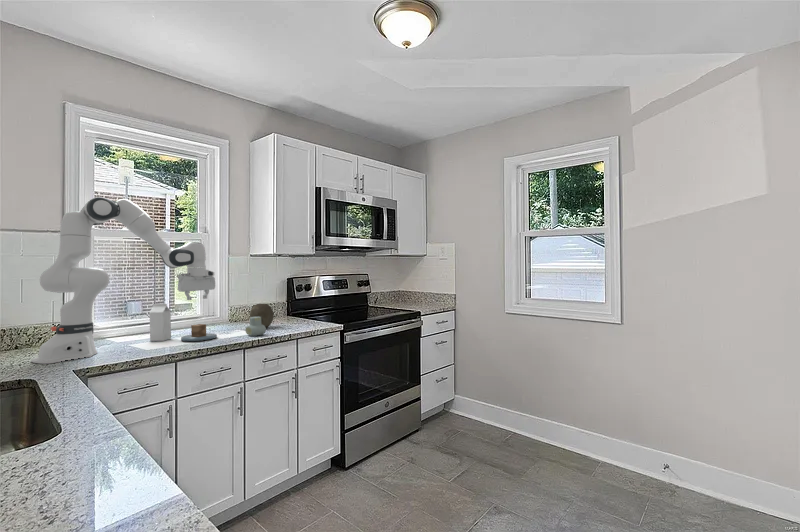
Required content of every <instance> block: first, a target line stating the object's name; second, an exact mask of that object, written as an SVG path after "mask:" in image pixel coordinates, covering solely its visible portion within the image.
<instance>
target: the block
mask: <svg viewBox="0 0 800 532" xmlns="http://www.w3.org/2000/svg"><path fill="white" fill-rule="evenodd" d="M190 327H191V329H190V330H191V333H190V335H192V337H203V336H206V333H207V324H206V323H205V324H204V323H198V324H192V325H190Z"/></svg>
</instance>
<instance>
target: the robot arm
mask: <svg viewBox="0 0 800 532" xmlns="http://www.w3.org/2000/svg"><path fill="white" fill-rule="evenodd" d="M110 220H114V221H115V220H116V221H118V222H119V223H121V224H122V225H123V226H124V227H125V228H126V229H127V230H129V231H130V232H131V233H133V235H136V236H137V237H138V238H140V239H141V240H143V241H144V242H146V243H147V244H148V245H149V246H150V247H152V249H153V250H155V251H156V252H157V254H159V256H160V257H161V259H162V261H163V263H164V265H165V266H167V267H168V268H171V269H178V268H181V267H185V266H186V267H187V268H186V269H187V273H180V274H179V275H178V281H177V290H178V292H180V293H181V292H182V293H183V292H184V295H185V296H186V301H191V300H192V299H193V298H192V297H193V296H190V292H196V291H203V292H204V294H203V295H202V299H203V300H204V299H208V295H209V293H210V291H212V290H215V288H216V278H215V277H214V276H215V272H214V271H212V270H209V269H207V265H206V260H207V257H206V255H207V254H206V248H205V245H204V244H203V243H201V242H197V241H189V242H187V243H185V244H184V245H182V246H179V247H176V248H174V247H172V246H170V245H169V244H168V243H167V242H166V241H165V240H164V239H163V238H162V237H161V236H160V235H159V234H158V232H157V229H156V224H155V223H156V222H154V220H153V219H152V218H151V216H150V215H149V214H148V213H147V212H145V211H144V209H142V208H141V207H140V206H139V205H137V204H136V203H134V202H133V201H131V200H129V199H128V198H127V199H126V198H122V199H121V198H120V199H118V200H117V201H116V200H112V199H109V198H107V197H101V196H97V197H94V198H92V199H89V200H88V201H87V202H85V204H84V206H83V207H82V208H81V210H80V211H74V210H73V211H68V212H66V213H65V214H63V216H62V220H61V222H60V223H61V224H60V231H59V249H58V255H57V257H56V259H55V261H54V262H53V264H52V265H51V266H50V267H48V268H47V269H45V270H44V271H43V272H42V273H41V275H40V276H39V284H40V286H41V288H42V289H43V290H44V291H45V292H50V293H59V294H61V293H62V294H63V293H65V294H66V293H67V294H69V293H74V295H73V298H72V299H70V300H68V301H66V302H65V303H64V304H63V305H61V307H60V311H59V312H60V313H59V314H60V324H59V326H52V327H51V332H55V334H54V335H53V336H52V337H50V338H49V339H47V341H46V342H44V343H42V344H41V345H40V346H39V350H38V355H37V357H33V358H31V362H32V363H33V364H41V365H42V364H43V365H44V364H46V365H47V364H53V363H60V362H61V361H62V362H66V361H65V360H68V361H72V360H71V359H74V360H79V359H78V358H80V359H85V358H84V357H86V358H90V357H93V356H94V355H96V354H98V351H97V348H96V345H95V339H94V322H93V305H94V302H95V300H96V298H97V296H98V295H99V294H100V293H101V292H103V291H104V290H105V289H106V288H107V287H108V285H109V283H110V275H109V274H108V272H107V271H106V270H105V269H104V268H100V267H99V268H98V267H92V266H91V267H90V266H89V267H78V265H79V263H80V262H81V261H82V260H84V259H87V258H88V257H89V256H90V255H91V253H92V228H93V226H96V225H97V226H98V225H101V224H104V223H107V222H108V221H110Z"/></svg>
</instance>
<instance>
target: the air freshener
mask: <svg viewBox="0 0 800 532" xmlns="http://www.w3.org/2000/svg"><path fill="white" fill-rule="evenodd" d="M266 331H267V328H266V327H265V326H264V325H262V324H261V317H250V316H249V325H247V326H246V327H245V334H247V335H248V336H250V337H258V336H257V335H260V336H262V335H264V334H265V333H266Z"/></svg>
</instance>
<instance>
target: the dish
mask: <svg viewBox="0 0 800 532" xmlns="http://www.w3.org/2000/svg"><path fill="white" fill-rule="evenodd" d="M216 338H217V334H216V333H210V332H209V333H208V332H206V336H203V337H192V334H186V335H183V336H181V337H180V340H181V341H182V342H203V341H202V340H205V341H207V340H208V341H209V340H213V339H216Z"/></svg>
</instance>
